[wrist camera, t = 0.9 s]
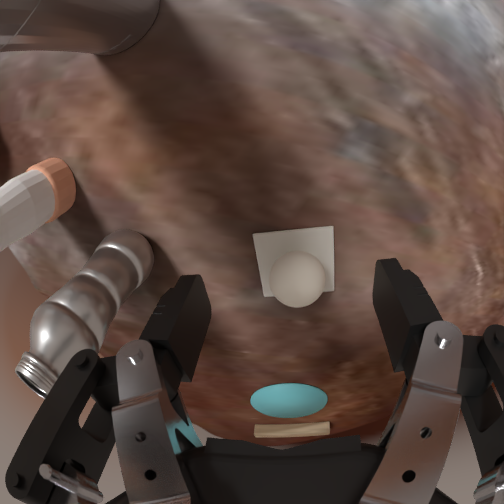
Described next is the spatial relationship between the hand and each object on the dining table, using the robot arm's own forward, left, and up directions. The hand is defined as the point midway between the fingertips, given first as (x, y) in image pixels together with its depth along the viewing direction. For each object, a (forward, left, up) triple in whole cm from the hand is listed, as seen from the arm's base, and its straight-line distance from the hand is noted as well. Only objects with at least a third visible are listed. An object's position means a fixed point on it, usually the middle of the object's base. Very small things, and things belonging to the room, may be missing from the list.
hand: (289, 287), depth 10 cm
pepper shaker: (-5, -27, -16) cm, 32 cm away
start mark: (+9, 0, -16) cm, 19 cm away
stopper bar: (+51, -3, -16) cm, 54 cm away
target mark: (+39, -3, -16) cm, 43 cm away
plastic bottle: (+5, -18, -16) cm, 25 cm away
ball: (+9, 0, -13) cm, 16 cm away
